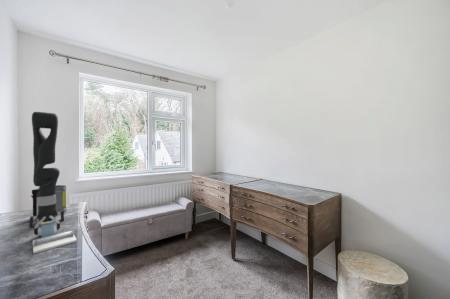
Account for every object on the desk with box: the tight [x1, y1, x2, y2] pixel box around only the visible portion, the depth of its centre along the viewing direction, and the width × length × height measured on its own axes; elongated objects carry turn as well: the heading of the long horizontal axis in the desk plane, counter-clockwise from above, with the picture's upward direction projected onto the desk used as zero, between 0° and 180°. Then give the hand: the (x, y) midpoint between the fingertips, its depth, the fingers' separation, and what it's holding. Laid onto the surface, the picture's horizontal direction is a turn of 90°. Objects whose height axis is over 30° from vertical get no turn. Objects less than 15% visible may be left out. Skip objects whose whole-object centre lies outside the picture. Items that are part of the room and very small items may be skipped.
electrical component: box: [30, 184, 67, 216], centre depth 141 cm, size 18×10×20 cm, turn 168°
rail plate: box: [32, 230, 78, 254], centre depth 100 cm, size 16×16×2 cm
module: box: [40, 220, 55, 238], centre depth 108 cm, size 7×5×7 cm
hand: (47, 232), depth 108 cm, fingers open, 8 cm apart
